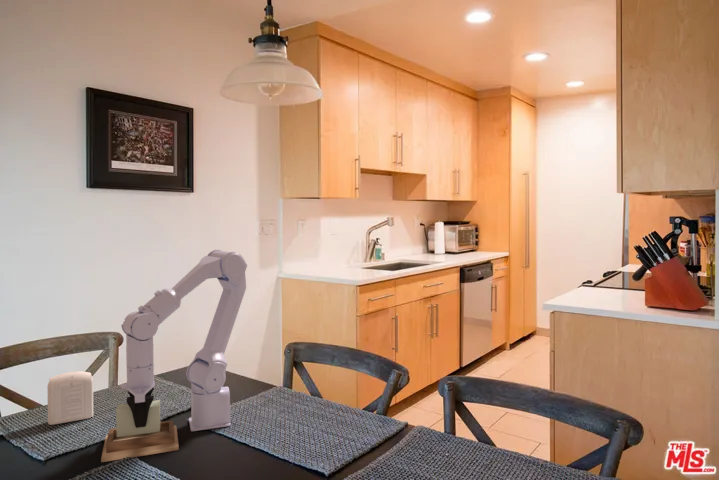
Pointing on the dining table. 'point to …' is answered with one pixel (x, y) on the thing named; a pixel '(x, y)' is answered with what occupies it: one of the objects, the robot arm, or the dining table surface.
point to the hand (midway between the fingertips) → (141, 422)
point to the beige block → (127, 422)
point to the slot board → (140, 443)
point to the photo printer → (70, 397)
